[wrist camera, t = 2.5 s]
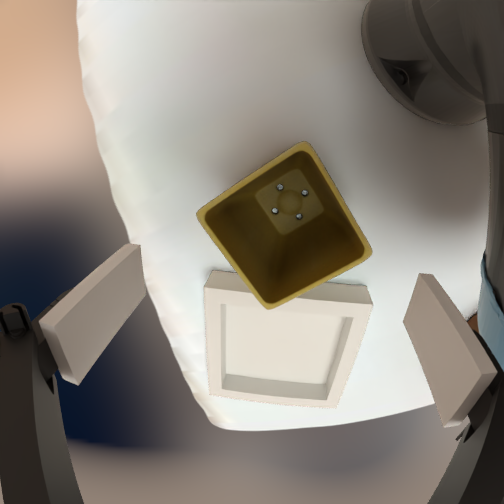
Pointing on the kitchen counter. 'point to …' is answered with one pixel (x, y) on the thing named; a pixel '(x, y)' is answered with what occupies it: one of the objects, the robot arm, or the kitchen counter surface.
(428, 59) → the robot arm
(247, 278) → the flower pot
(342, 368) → the white square tray
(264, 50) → the kitchen counter surface
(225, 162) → the kitchen counter surface
